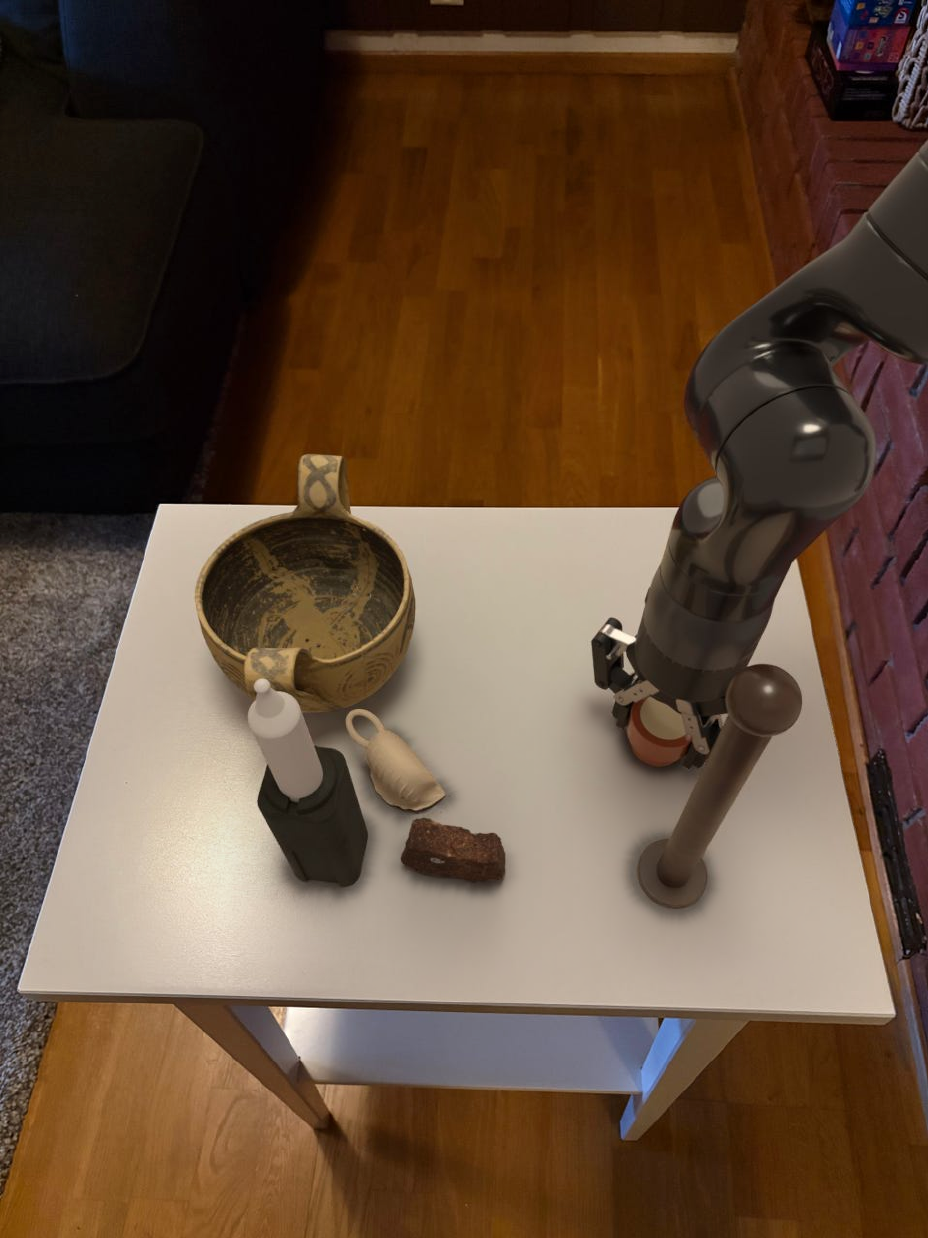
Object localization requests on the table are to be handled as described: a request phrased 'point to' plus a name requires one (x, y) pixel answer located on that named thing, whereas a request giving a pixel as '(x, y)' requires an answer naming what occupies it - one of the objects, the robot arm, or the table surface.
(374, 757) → the decorative ornament
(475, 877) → the stone
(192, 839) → the table surface
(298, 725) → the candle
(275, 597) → the ceramic bowl
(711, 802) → the walnut post
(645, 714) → the terracotta bowl
